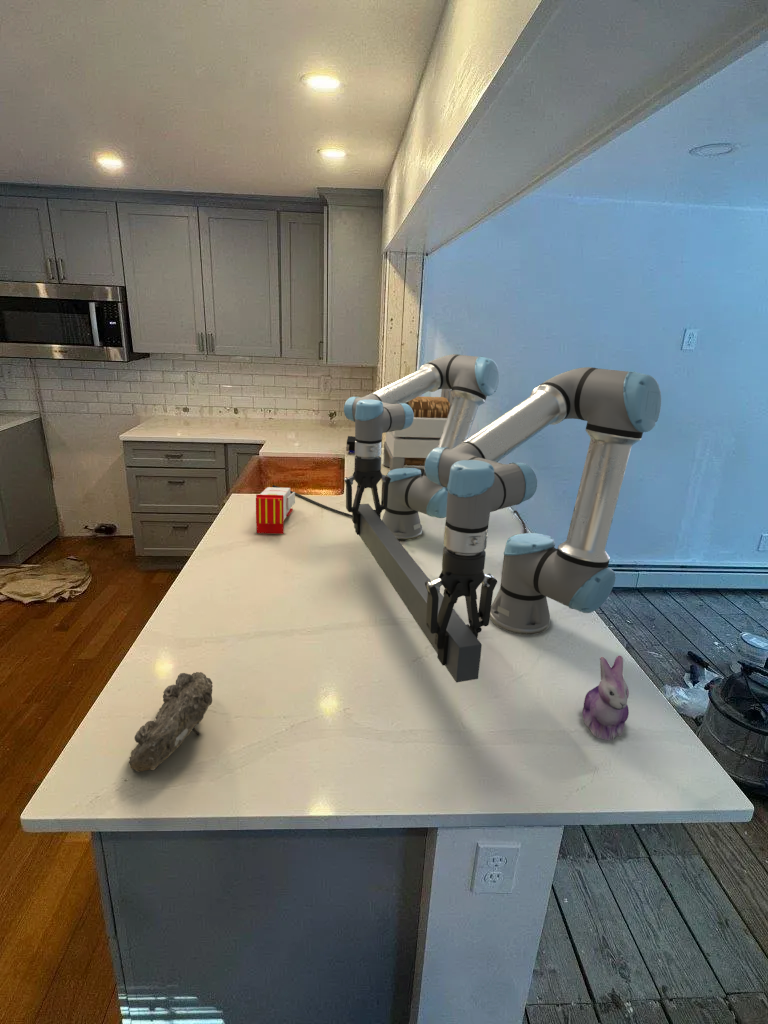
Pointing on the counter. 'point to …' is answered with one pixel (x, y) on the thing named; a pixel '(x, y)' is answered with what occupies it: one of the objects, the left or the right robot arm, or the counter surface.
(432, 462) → the right robot arm
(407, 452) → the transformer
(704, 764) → the counter surface
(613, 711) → the figurine
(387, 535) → the bar
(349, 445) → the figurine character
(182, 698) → the fossil
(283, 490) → the toy
